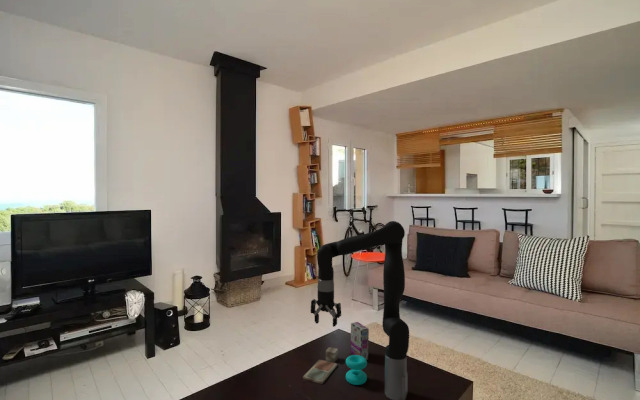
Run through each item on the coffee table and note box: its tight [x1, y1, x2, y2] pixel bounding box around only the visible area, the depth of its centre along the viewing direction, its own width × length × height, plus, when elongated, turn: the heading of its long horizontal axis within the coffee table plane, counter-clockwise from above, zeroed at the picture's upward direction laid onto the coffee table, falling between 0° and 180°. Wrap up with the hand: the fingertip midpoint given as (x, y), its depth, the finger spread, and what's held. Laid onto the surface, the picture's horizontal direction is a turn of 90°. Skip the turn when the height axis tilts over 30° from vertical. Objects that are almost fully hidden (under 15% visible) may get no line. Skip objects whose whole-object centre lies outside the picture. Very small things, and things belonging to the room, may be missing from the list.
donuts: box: [345, 354, 368, 386], centre depth 149 cm, size 10×10×10 cm
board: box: [302, 359, 338, 385], centre depth 156 cm, size 10×18×1 cm, turn 155°
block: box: [325, 347, 339, 363], centre depth 169 cm, size 5×5×5 cm
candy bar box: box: [350, 321, 370, 360], centre depth 173 cm, size 11×5×16 cm, turn 25°
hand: (325, 324), depth 144 cm, fingers open, 8 cm apart
